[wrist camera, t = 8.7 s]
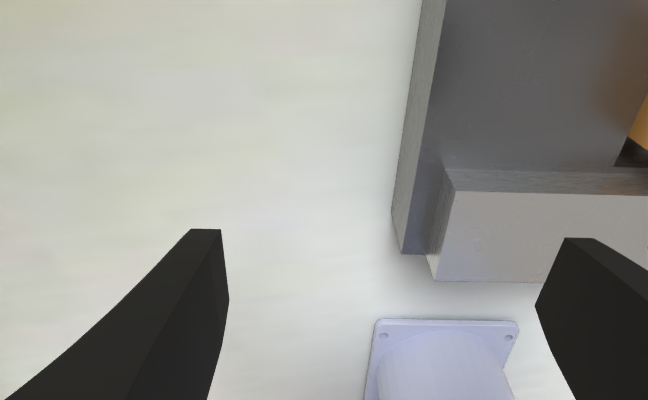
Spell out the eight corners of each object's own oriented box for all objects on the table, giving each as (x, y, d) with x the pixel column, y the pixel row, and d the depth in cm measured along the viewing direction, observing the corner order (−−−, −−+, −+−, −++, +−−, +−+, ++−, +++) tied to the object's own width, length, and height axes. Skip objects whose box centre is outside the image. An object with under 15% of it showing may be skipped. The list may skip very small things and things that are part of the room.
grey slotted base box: (685, 219, 20) (768, 287, 17) (391, 211, 20) (407, 280, 16) (983, -264, 12) (1305, -353, 8) (467, -295, 11) (542, -403, 7)
